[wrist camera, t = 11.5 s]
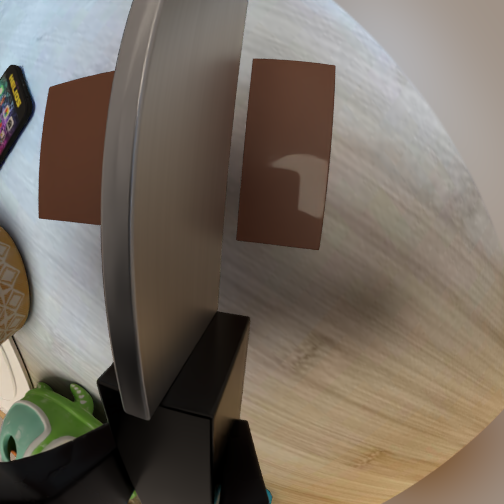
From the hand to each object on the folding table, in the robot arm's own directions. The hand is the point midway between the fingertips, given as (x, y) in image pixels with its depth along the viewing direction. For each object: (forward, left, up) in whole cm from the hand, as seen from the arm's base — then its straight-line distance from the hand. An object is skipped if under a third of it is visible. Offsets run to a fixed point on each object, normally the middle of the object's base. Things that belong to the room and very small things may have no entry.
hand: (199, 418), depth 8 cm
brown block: (-1, -9, -10) cm, 13 cm away
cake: (+8, -9, -10) cm, 15 cm away
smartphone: (+26, -11, -10) cm, 30 cm away
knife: (0, -5, -1) cm, 5 cm away
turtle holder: (+15, +17, -10) cm, 25 cm away
